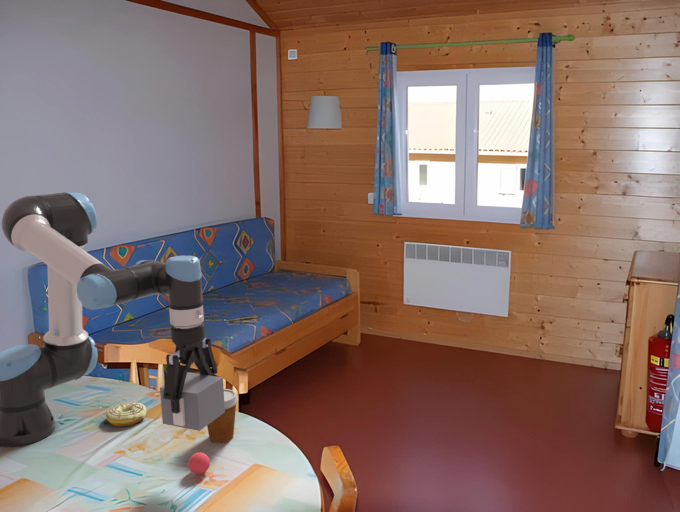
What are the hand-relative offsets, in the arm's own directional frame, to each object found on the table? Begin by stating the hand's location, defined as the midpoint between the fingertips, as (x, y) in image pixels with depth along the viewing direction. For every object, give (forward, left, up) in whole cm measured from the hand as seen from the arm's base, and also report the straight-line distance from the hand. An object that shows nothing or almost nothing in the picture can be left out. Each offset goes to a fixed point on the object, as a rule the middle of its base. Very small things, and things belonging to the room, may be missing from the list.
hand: (194, 414), depth 146 cm
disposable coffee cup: (-4, +17, -15) cm, 23 cm away
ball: (+1, 0, -13) cm, 13 cm away
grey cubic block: (0, 0, -1) cm, 1 cm away
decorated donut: (-35, +16, -16) cm, 42 cm away
